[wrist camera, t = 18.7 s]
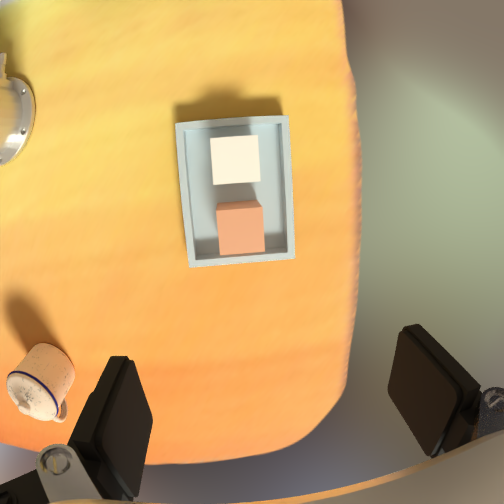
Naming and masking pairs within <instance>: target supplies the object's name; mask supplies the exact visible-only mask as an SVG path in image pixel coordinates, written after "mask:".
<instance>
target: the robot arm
mask: <svg viewBox="0 0 504 504" xmlns="http://www.w3.org/2000/svg"><path fill="white" fill-rule="evenodd" d="M6 59H7V54H6V53H0V166H2V165H6V164H8V163H10V162H11V161H13V160H14V159H15V158H16V157H17V156H18V155H19V154H20V152H21V151H22V150H23V148H24V147H25V145H26V143H27V141H28V139H29V137H30V134H31V131H32V128H33V124H34V118H35V101H34V97H33V93H32V91H31V89H30V87H29V86H28V85H27V83H26V82H24V81H23V80H21V79H18V78H15V77H7V74H6V73H5V66H6ZM480 387H481V386H480V384H478V383H477V381H476V380H475V379H474V378H473V377H471V375H470V374H469V373H468V372H467V371H466V370H465V369H464V368H463V367H462V366H461V365H460V364H459V363H458V362H457V361H456V360H455V359H454V358H453V357H452V356H451V355H450V354H449V353H448V352H447V351H446V350H445V349H444V348H443V347H442V346H441V345H440V344H439V343H438V342H437V341H436V340H435V339H434V338H433V337H432V336H431V335H430V334H429V333H428V332H427V331H426V330H425V329H424V328H423V327H422V326H421V325H419V324H414V325H410V326H405V327H404V328H403V329H402V331H401V332H400V333H399V335H398V340H397V346H396V351H395V356H394V361H393V366H392V370H391V375H390V380H389V384H388V394H389V396H390V398H391V399H392V401H393V402H394V404H395V406H396V407H397V409H398V410H399V412H400V414H401V415H402V417H403V418H404V420H405V422H406V423H407V425H408V426H409V428H410V430H411V431H412V433H413V435H414V436H415V437H416V439H417V441H418V443H419V444H420V446H421V448H422V449H423V451H424V453H425V454H426V455H427V456H431V458H432V459H430V460H428V461H425V462H422V463H420V464H417V465H415V466H412V467H409V468H406V469H404V470H401V471H398V472H395V473H392V474H389V475H385V476H382V477H379V478H376V479H372V480H369V481H365V482H362V483H358V484H354V485H350V486H346V487H342V488H337V489H333V490H328V491H324V492H319V493H314V494H308V495H302V496H296V497H290V498H283V499H275V500H267V501H257V502H246V503H232V504H504V388H501V387H491V388H488V389H486V390H484V392H483V393H482V392H481V391H480V390H479V389H480ZM152 424H153V418H152V413H151V411H150V408H149V405H148V402H147V400H146V397H145V394H144V391H143V388H142V385H141V382H140V379H139V376H138V373H137V369H136V366H135V363H134V361H133V360H129V358H128V357H127V356H111V357H110V359H109V361H108V363H107V365H106V367H105V369H104V371H103V373H102V375H101V377H100V379H99V381H98V383H97V385H96V388H95V390H94V391H93V392H92V393H91V394H90V395H89V397H88V399H87V401H86V404H85V406H84V408H83V410H82V412H81V414H80V417H79V419H78V421H77V423H76V426H75V428H74V430H73V432H72V435H71V437H70V439H69V442H68V444H67V445H64V444H53V445H49V446H47V447H46V448H44V449H43V450H42V451H41V452H40V453H39V455H38V456H37V458H36V462H35V463H36V469H35V470H33V471H31V472H29V473H27V474H24V475H22V476H20V477H18V478H15V479H13V480H11V481H8V482H6V483H4V484H1V485H0V504H159V503H143V502H133V497H138V494H139V490H140V484H141V478H142V473H143V468H144V463H145V458H146V453H147V448H148V443H149V438H150V433H151V429H152Z"/></svg>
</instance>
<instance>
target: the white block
mask: <svg viewBox="0 0 504 504" xmlns="http://www.w3.org/2000/svg"><path fill="white" fill-rule="evenodd" d="M210 145H211V159H212V173H213V185H219V184H231V183H244V182H259V181H261V179H260V162H259V146H258V135H248V136H233V137H219V138H210Z"/></svg>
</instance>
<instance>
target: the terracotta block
mask: <svg viewBox="0 0 504 504" xmlns="http://www.w3.org/2000/svg"><path fill="white" fill-rule="evenodd" d="M216 216H217V227H218V238H219V249H220V255H231V254H243V253H255V252H265V241H264V223H263V207H262V206H261V204H260V203H259V202H258V200H248V201H235V202H222V203H217V208H216Z"/></svg>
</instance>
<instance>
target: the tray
mask: <svg viewBox="0 0 504 504" xmlns="http://www.w3.org/2000/svg"><path fill="white" fill-rule="evenodd" d="M175 128H176V143H177V156H178V168H179V180H180V190H181V200H182V210H183V219H184V228H185V237H186V245H187V253H188V261H189V268H190V267H203V266H215V265H227V264H238V263H250V262H262V261H273V260H284V259H295V241H294V211H293V187H292V166H291V148H290V132H289V117H288V115H282V116H254V117H236V118H223V119H211V120H200V121H191V122H182V123H175ZM248 135H258V146H259V162H260V179H261V181H259V182H244V183H231V184H219V185H213V173H212V159H211V145H210V138H219V137H233V136H248ZM248 200H258V202H259V203H260V204H261V206H262V207H263V223H264V241H265V252H255V253H243V254H231V255H220V249H219V238H218V227H217V216H216V208H217V203H222V202H235V201H248Z"/></svg>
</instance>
